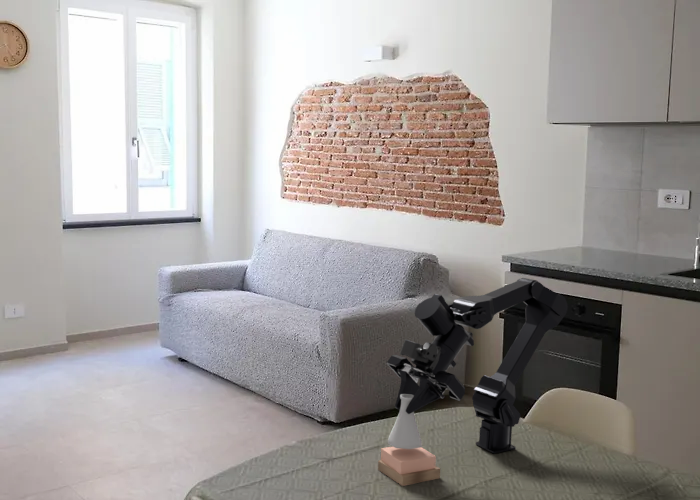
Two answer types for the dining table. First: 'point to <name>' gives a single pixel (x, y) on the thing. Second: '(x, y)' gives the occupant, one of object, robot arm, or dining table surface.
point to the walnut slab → (409, 474)
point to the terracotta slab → (408, 459)
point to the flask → (405, 427)
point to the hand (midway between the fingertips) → (401, 410)
